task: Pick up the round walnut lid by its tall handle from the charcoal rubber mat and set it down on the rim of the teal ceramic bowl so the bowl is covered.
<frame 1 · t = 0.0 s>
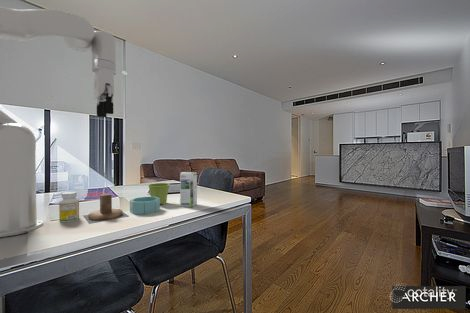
hand: (104, 115, 81), 37 cm above the table, tool pointing down, fingers open, 9 cm apart
supplement bottle: (69, 221, 75), on the table
plant pot: (159, 204, 100), on the table
syrup box: (188, 205, 97), on the table
bowl: (145, 212, 86), on the table
lid: (106, 216, 79), point 1 cm above the table, touching mat
mat: (106, 217, 79), on the table
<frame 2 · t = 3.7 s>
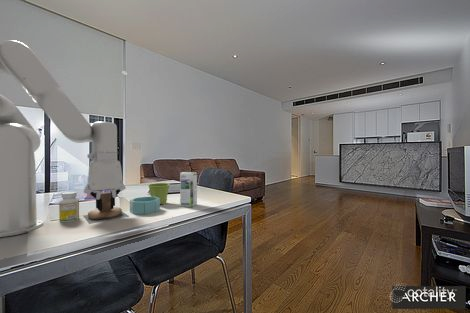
hand: (105, 208, 79), 3 cm above the table, tool pointing down, fingers closed on lid, 2 cm apart
lid: (105, 214, 79), point 1 cm above the table, touching gripper
everything else where it was.
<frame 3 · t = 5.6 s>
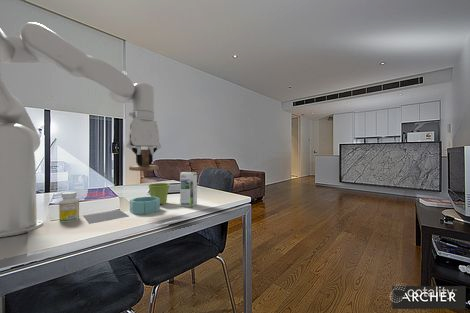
hand: (144, 164, 86), 18 cm above the table, tool pointing down, fingers closed on lid, 3 cm apart
lid: (143, 169, 86), point 17 cm above the table, touching gripper
everything else where it was.
when the fingers open (8 cm above the table, at t = 8.0 s): lid drops 1 cm, resting on bowl.
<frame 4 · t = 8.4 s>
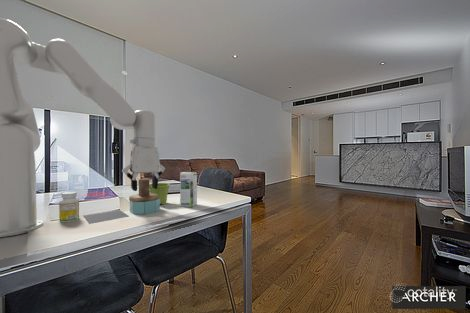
hand: (145, 189, 86), 9 cm above the table, tool pointing down, fingers open, 7 cm apart
lid: (144, 198, 86), point 5 cm above the table, touching bowl
everything else where it was.
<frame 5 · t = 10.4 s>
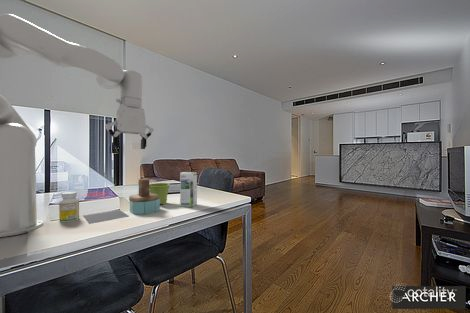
hand: (130, 148, 86), 25 cm above the table, tool pointing down, fingers open, 9 cm apart
nothing on the table moved.
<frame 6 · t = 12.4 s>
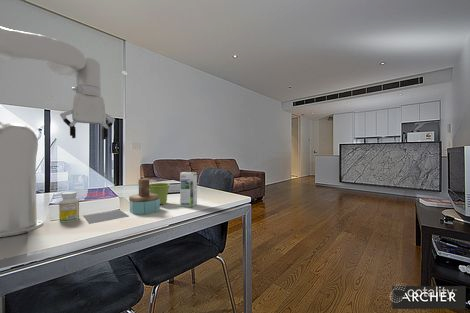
hand: (89, 138, 83), 28 cm above the table, tool pointing down, fingers open, 9 cm apart
nothing on the table moved.
at the end: lid 0.7 cm from the bowl (horizontally); lid 0.7 cm off-centre on the bowl, point 5.0 cm above the bowl's base; the gripper is holding nothing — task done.
